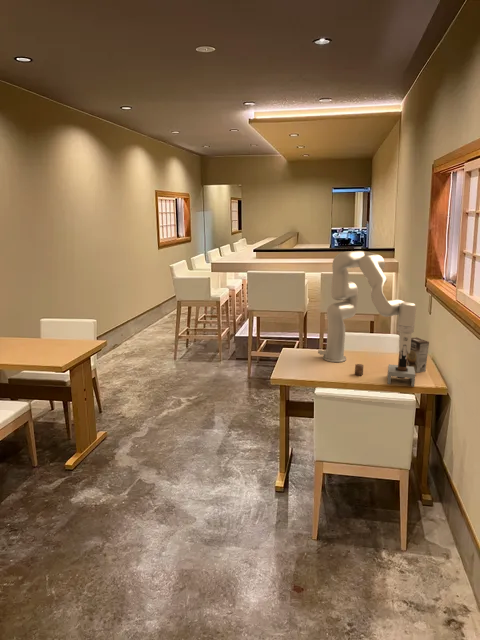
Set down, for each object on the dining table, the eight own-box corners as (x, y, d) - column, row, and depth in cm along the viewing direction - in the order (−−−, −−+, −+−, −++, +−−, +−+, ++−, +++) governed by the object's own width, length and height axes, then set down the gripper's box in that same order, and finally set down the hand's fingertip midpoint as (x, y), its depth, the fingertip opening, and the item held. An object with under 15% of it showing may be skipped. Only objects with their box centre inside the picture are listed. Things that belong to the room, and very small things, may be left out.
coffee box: (404, 367, 266) (407, 338, 262) (413, 366, 268) (416, 336, 264) (416, 372, 257) (419, 342, 254) (426, 371, 260) (429, 341, 256)
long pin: (397, 378, 243) (399, 348, 240) (396, 375, 247) (399, 346, 243) (405, 379, 242) (408, 349, 239) (405, 376, 246) (408, 346, 242)
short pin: (354, 375, 252) (355, 366, 250) (354, 373, 255) (355, 363, 254) (362, 376, 251) (363, 366, 249) (362, 373, 254) (363, 364, 253)
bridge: (387, 383, 241) (388, 371, 240) (387, 375, 252) (388, 364, 251) (414, 386, 238) (415, 374, 237) (412, 378, 249) (413, 366, 248)
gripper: (415, 333, 230) (411, 371, 234) (413, 325, 246) (409, 360, 250) (398, 332, 232) (394, 369, 236) (397, 323, 248) (393, 359, 252)
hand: (402, 364), depth 243 cm, fingers closed on long pin, 4 cm apart
